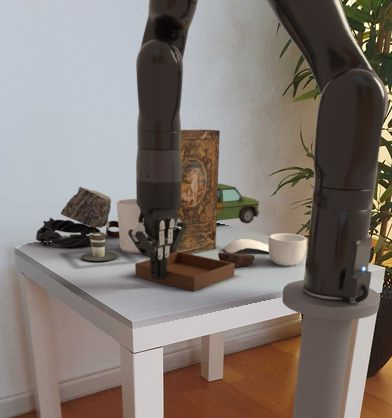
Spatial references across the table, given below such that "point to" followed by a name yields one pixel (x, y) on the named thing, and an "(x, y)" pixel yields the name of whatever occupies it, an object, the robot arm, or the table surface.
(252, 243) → the computer mouse
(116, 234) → the watch
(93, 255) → the olive disc with post
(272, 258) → the teacup
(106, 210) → the stone block
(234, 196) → the toy truck
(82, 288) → the table surface
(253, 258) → the stone
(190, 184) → the book
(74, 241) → the cable
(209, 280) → the tray
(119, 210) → the mug
